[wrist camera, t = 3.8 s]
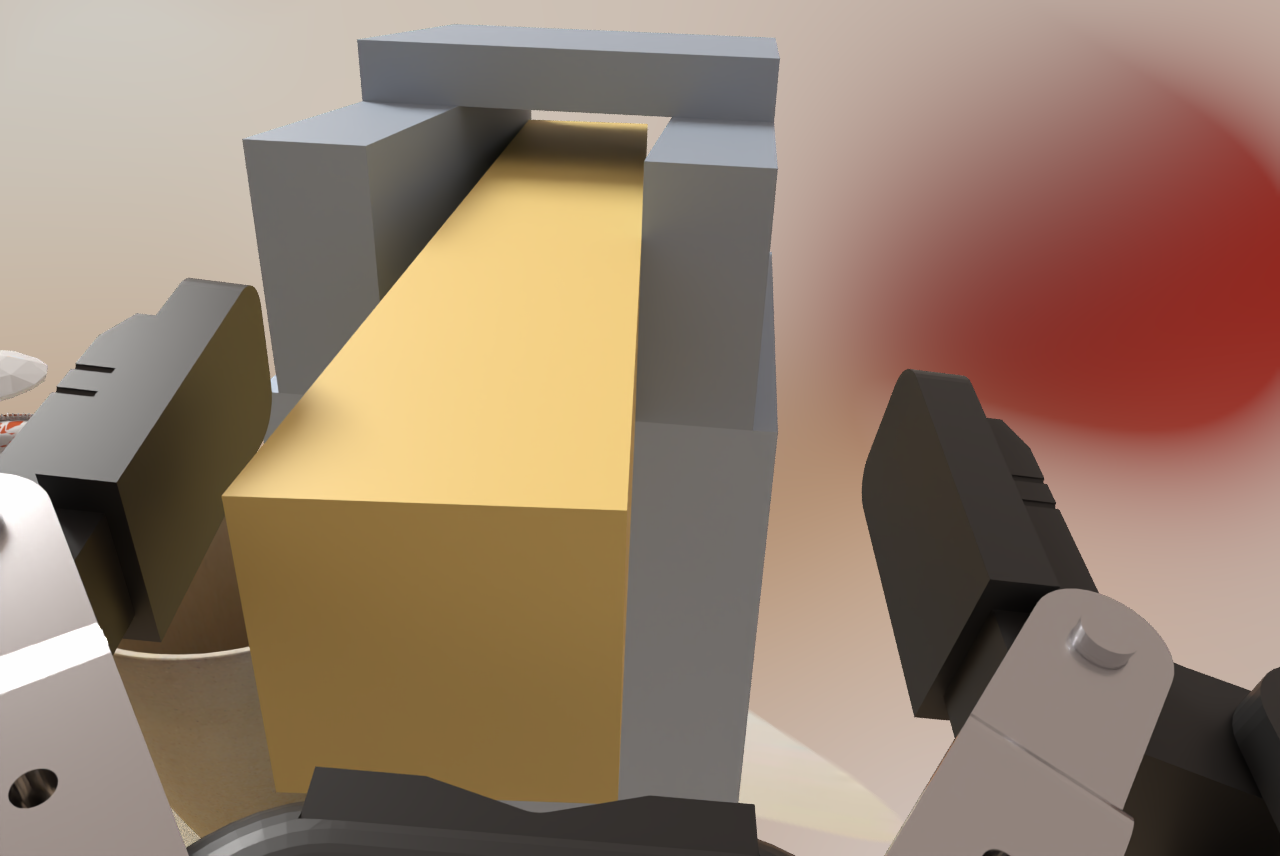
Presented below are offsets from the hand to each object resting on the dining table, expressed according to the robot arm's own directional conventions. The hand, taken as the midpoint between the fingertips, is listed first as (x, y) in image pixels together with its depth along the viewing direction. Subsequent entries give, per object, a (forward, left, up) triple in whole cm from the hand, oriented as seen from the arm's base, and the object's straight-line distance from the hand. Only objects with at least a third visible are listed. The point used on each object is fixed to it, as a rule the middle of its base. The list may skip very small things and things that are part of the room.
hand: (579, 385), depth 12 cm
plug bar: (+4, +8, -4) cm, 9 cm away
